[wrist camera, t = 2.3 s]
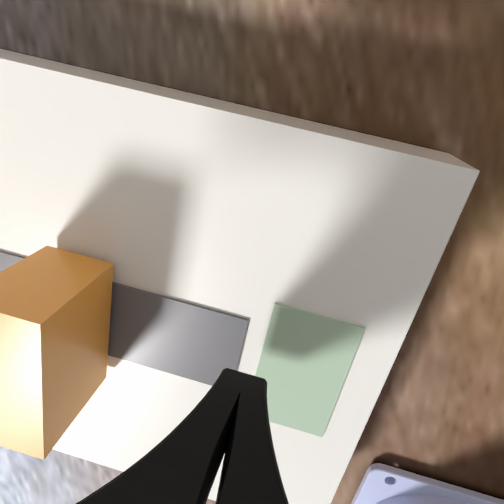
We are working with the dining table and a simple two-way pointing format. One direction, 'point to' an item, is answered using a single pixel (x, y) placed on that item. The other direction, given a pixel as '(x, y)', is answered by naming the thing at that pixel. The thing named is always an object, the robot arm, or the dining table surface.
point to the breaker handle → (51, 344)
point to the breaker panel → (225, 254)
